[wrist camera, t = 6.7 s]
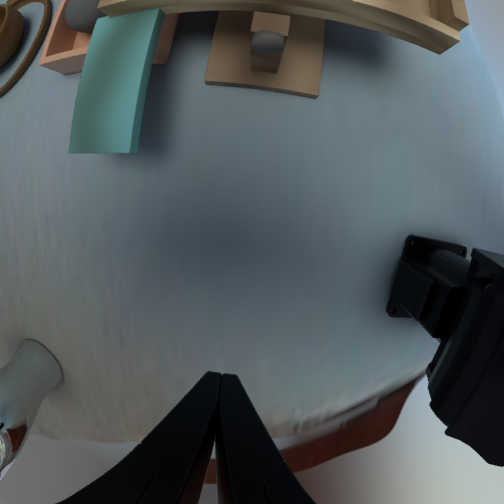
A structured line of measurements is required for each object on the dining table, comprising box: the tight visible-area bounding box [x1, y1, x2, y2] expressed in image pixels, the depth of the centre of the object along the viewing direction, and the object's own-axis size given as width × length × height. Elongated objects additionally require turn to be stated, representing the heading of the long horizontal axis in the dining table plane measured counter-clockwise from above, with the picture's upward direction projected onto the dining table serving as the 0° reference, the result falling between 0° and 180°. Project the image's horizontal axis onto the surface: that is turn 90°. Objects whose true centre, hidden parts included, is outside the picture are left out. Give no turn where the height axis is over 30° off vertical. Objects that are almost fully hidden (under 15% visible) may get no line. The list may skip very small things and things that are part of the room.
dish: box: [39, 0, 180, 75], centre depth 12 cm, size 9×9×4 cm
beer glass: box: [0, 340, 63, 480], centre depth 15 cm, size 7×7×15 cm
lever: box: [69, 0, 469, 154], centre depth 8 cm, size 18×14×3 cm
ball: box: [65, 0, 107, 33], centre depth 11 cm, size 4×4×4 cm
